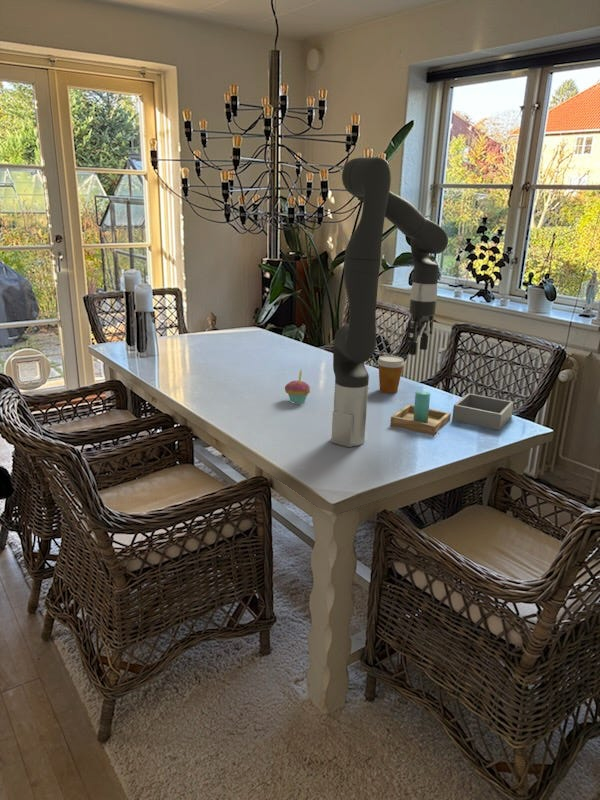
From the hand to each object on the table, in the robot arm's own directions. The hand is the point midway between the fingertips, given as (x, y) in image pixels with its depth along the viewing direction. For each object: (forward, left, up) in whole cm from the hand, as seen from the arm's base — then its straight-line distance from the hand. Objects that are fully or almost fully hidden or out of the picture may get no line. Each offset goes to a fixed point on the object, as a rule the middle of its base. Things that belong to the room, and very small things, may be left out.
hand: (417, 352), depth 184 cm
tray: (-1, -3, -22) cm, 22 cm away
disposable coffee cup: (+24, +19, -22) cm, 38 cm away
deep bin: (+13, -18, -22) cm, 32 cm away
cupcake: (-6, +39, -23) cm, 45 cm away
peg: (-1, -3, -21) cm, 21 cm away
